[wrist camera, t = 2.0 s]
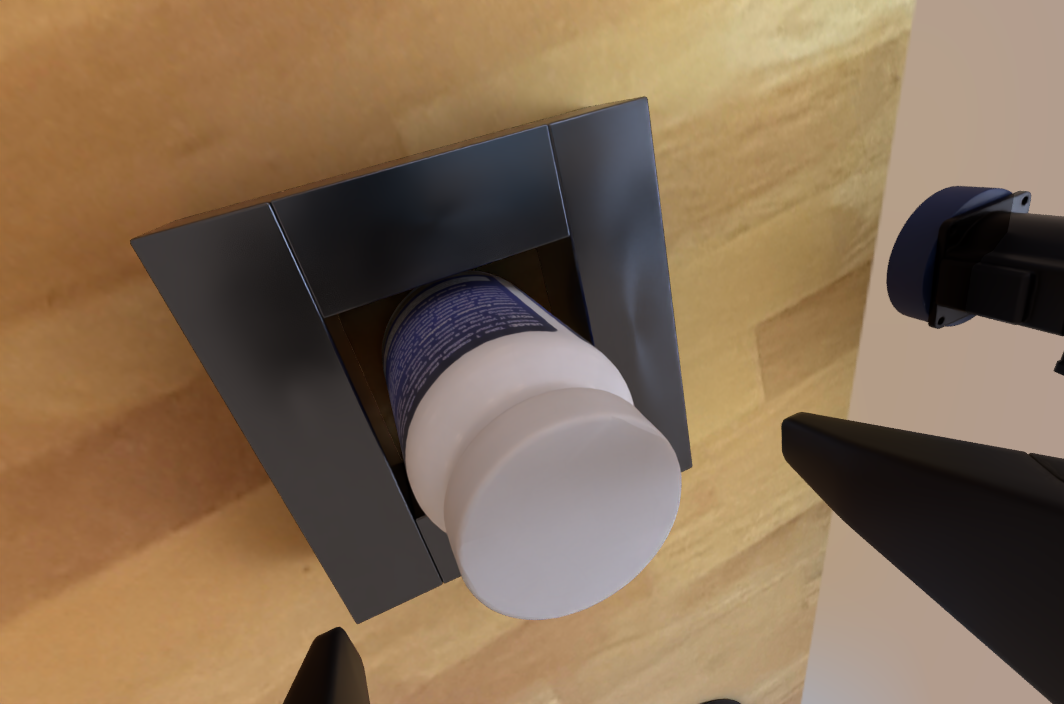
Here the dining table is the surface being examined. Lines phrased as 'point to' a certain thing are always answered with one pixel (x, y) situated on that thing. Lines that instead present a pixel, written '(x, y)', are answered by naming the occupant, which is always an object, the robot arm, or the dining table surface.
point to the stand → (400, 265)
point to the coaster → (723, 702)
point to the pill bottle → (525, 448)
